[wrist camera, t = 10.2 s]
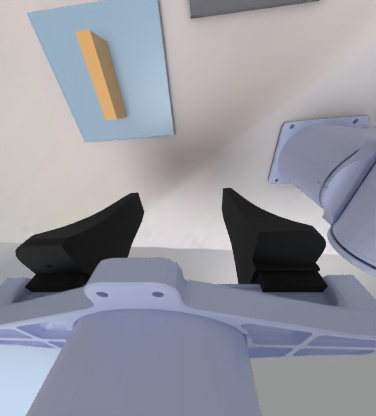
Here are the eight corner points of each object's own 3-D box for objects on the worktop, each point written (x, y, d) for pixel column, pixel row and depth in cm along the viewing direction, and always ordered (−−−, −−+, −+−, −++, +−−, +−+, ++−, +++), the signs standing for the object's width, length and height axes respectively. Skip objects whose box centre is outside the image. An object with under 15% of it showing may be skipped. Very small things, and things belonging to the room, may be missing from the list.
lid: (159, 2, 13) (147, -34, 10) (175, 132, 19) (171, 139, 16) (40, 20, 14) (-10, -7, 11) (91, 140, 20) (70, 147, 17)
